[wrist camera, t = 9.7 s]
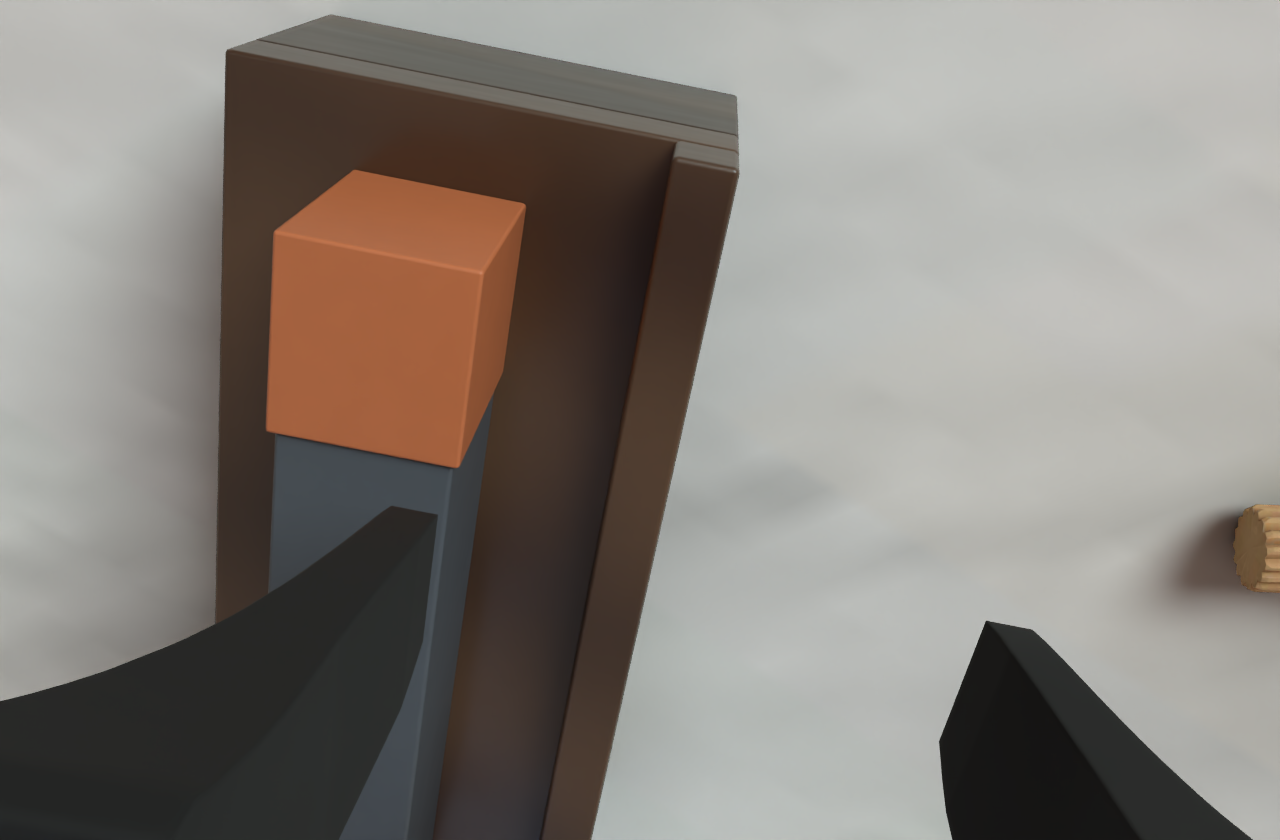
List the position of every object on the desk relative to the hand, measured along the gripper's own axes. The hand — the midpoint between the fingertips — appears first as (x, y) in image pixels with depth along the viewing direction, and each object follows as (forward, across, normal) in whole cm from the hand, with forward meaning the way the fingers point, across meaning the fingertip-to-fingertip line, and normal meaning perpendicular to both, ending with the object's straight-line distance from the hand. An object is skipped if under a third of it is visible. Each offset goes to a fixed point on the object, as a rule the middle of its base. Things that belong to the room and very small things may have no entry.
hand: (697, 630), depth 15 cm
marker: (+5, +5, +4) cm, 8 cm away
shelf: (+10, +4, +4) cm, 12 cm away
